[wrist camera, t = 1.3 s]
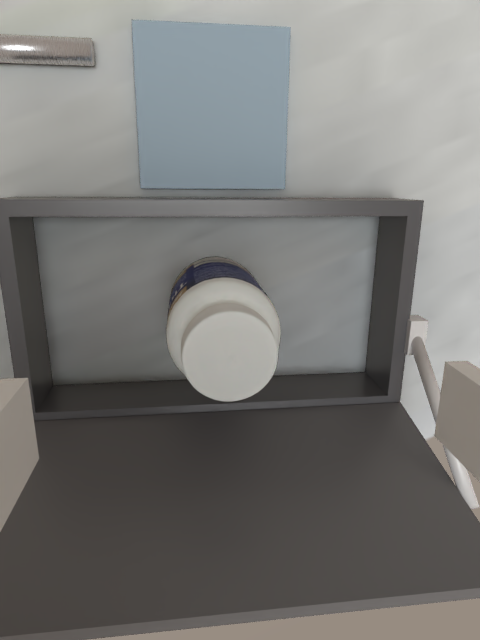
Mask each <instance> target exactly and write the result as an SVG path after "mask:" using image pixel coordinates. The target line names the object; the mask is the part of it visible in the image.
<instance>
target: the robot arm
mask: <svg viewBox="0 0 480 640" xmlns="http://www.w3.org/2000/svg"><path fill="white" fill-rule="evenodd" d="M434 436H435V437H436V438H437V439H438V440H439V441H440V442H441V443H442V444H443V445H444V446H445V447H446V448H447V449H448V450H449V451H450V452H451V453H452V454H453V455H454V456H455V457H456V458H457V460H458V461H459V462H460V463H461V464H462V465H463V466H464V467H465V468H466V469H467V470H468V471H469V472H470V473H471V474H472V475H473V476H474V477H475V478H476V479H477V480H478V481H479V482H480V369H479V368H478V367H476V366H474V365H473V364H471V363H470V362H468V361H453V362H445V367H444V374H443V381H442V388H441V395H440V401H439V408H438V415H437V422H436V429H435V435H434ZM38 460H39V454H38V446H37V439H36V432H35V425H34V417H33V410H32V403H31V396H30V388H29V381H28V378H10V379H0V532H1V530H2V528H3V526H4V524H5V522H6V520H7V519H8V517H9V515H10V513H11V511H12V509H13V507H14V505H15V503H16V501H17V500H18V498H19V496H20V494H21V492H22V490H23V488H24V486H25V484H26V483H27V481H28V479H29V477H30V475H31V473H32V471H33V469H34V467H35V466H36V464H37V462H38Z"/></svg>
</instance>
